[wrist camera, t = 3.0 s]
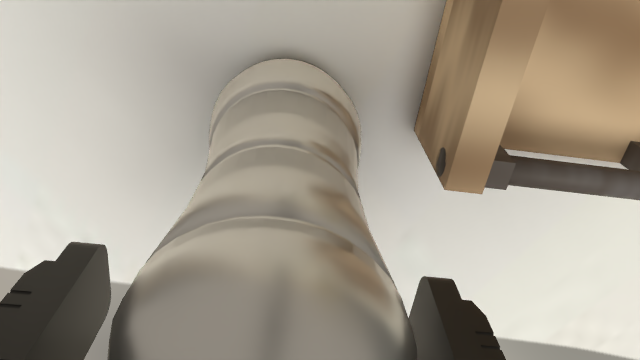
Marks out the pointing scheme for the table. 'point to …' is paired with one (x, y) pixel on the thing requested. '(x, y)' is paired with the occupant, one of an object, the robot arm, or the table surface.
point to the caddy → (535, 95)
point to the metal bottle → (270, 239)
